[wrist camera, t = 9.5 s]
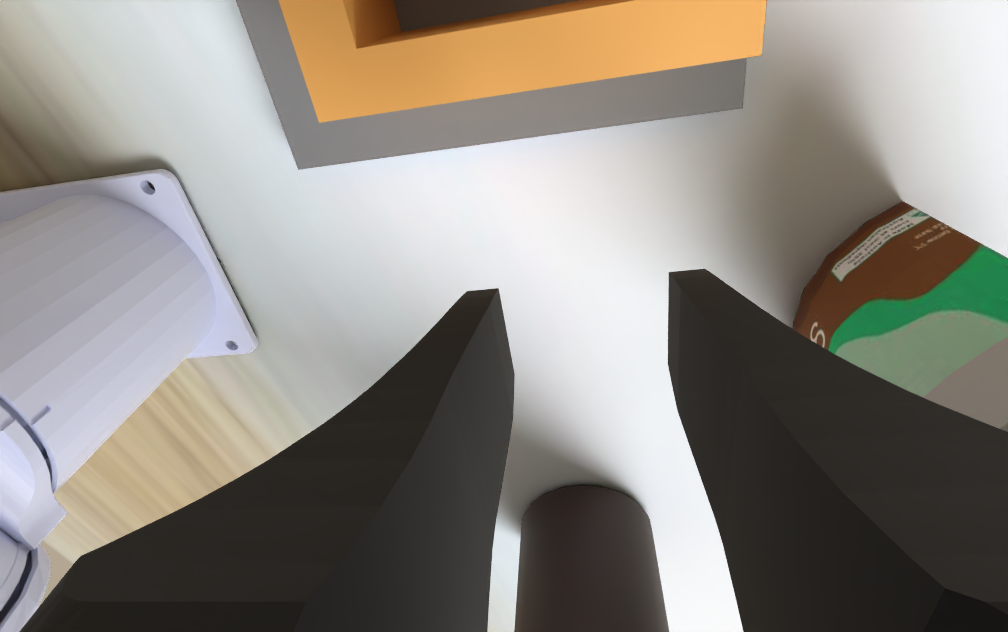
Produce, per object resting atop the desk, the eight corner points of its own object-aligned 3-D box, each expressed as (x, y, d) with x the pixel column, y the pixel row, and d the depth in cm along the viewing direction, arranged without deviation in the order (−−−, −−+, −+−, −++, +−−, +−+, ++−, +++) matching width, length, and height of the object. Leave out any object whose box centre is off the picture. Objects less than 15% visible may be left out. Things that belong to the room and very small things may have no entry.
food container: (705, 259, 19) (820, 481, 11) (889, 164, 17) (1218, 352, 8) (822, 461, 24) (962, 721, 16) (976, 409, 22) (1238, 681, 13)
